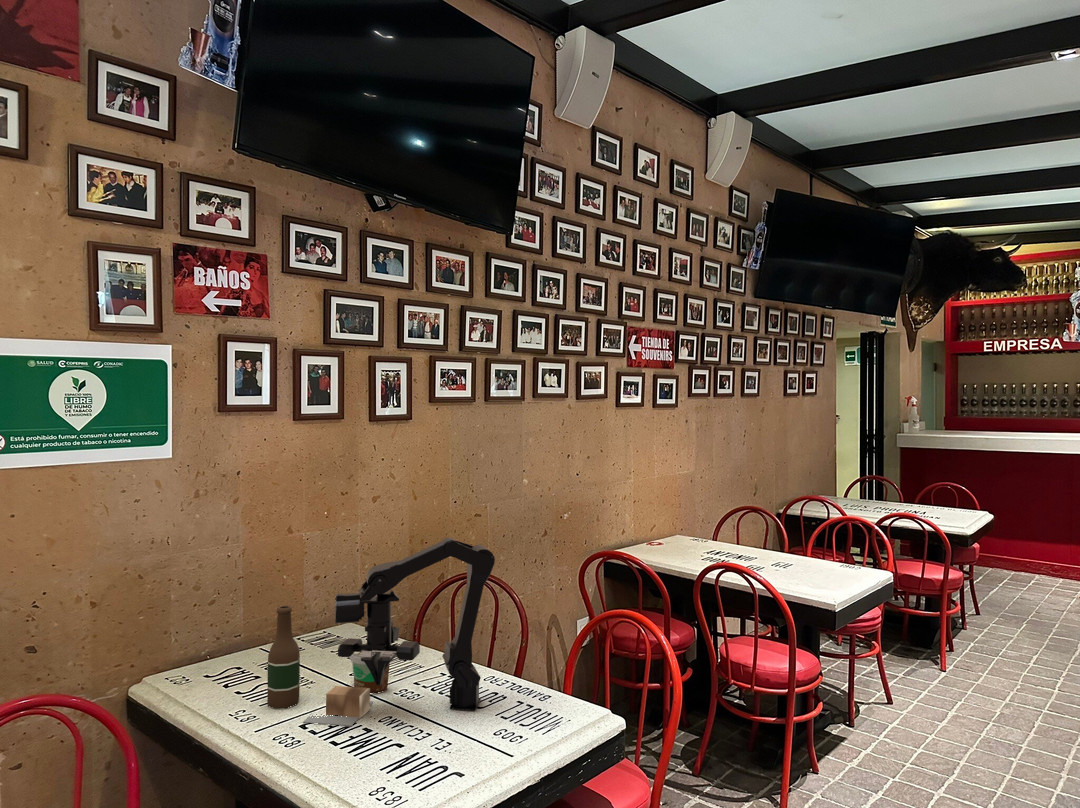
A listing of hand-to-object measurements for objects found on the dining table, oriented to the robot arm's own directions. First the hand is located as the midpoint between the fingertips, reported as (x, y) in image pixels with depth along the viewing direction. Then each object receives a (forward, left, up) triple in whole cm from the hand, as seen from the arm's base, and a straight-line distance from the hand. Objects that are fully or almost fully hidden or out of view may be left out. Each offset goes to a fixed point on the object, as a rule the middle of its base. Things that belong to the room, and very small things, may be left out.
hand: (379, 684), depth 176 cm
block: (+3, 0, -5) cm, 6 cm away
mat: (+10, 0, -7) cm, 12 cm away
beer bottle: (+26, -3, -8) cm, 27 cm away
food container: (+9, -14, -8) cm, 18 cm away
